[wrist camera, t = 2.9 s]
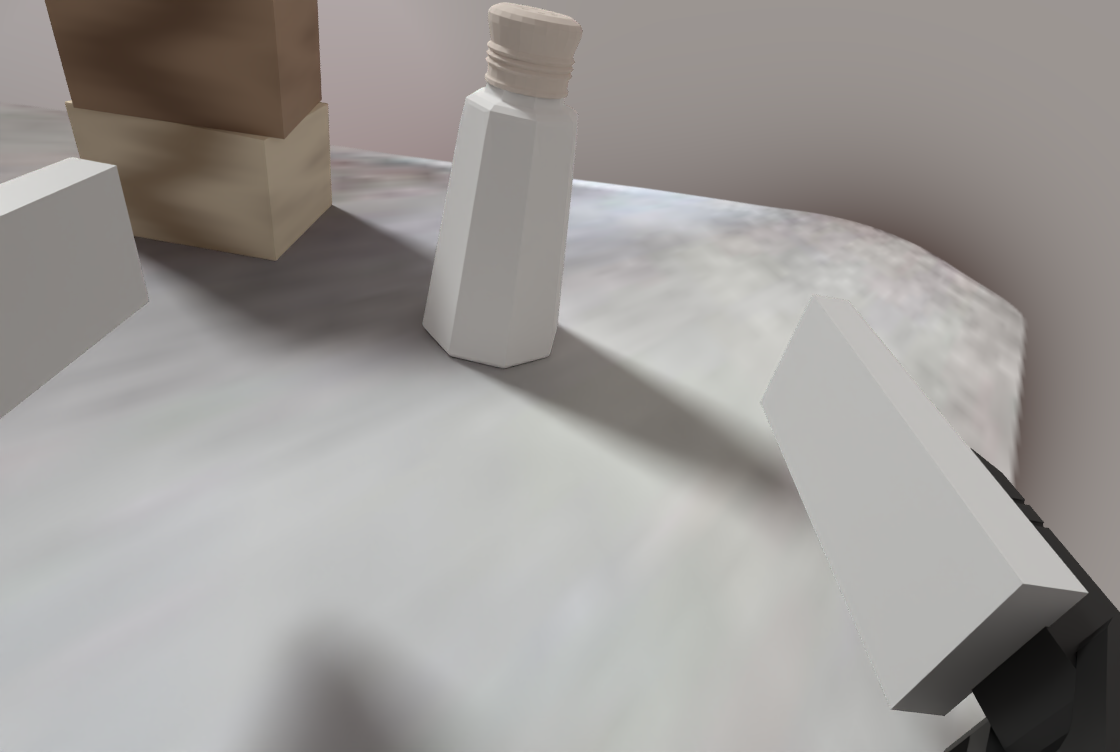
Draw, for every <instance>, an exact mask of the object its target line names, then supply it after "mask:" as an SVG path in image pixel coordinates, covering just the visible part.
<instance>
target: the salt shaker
mask: <svg viewBox="0 0 1120 752" xmlns="http://www.w3.org/2000/svg"><path fill="white" fill-rule="evenodd" d="M488 22H489V29H490V37H491V40H490V41H489V42H488V43H487V45H488V47H489V49H488V50H487V54H488V55H489V56H488V57H487V58H486V61H487V62H488V72H487V73H486V74H485V80H486V81H487V83H486V87H482V88H481V89H479V90H477V91H475V92H474V93H472V94H471V95H469V96H467V97H466V100H465V104H464V108H463V112H462V117H461V120H460V125H459V131H458V136H457V141H456V147H455V152H454V158H453V163H452V168H451V173H450V179H449V184H448V189H447V195H446V200H445V206H444V211H443V216H442V222H441V227H440V232H439V238H438V243H437V248H436V254H435V259H434V264H433V270H432V275H431V281H430V286H429V291H428V297H427V302H426V307H425V313H424V318H423V323H422V325H423V326H424V328H425V329H426V330H427V331H428V332H429V333H430V335H431V336H432V337H433V338H434V339H435V340H436V341H437V342H438V343H439V344H440V345H441V347H442V348H443V349H444V350H445V351H446V352H447V353H448V354H449V355H450V356H452V357H456V358H461V359H465V360H469V361H473V362H478V363H482V364H486V365H490V366H495V367H499V368H503V369H504V368H507V367H511V366H515V365H519V364H522V363H526V362H530V361H534V360H537V359H541V358H545V357H547V356H549V355H550V353H551V349H552V345H553V342H554V338H555V334H556V331H557V325H558V316H559V306H560V296H561V287H562V277H563V267H564V258H565V248H566V238H567V229H568V219H569V209H570V200H571V190H572V180H573V171H574V161H575V151H576V142H577V126H578V113H577V112H576V111H575V110H574V109H573V108H571V107H569V106H567V105H565V104H564V98H565V97H567V95H568V90H567V87H568V80H569V79H570V78H571V77H572V75H571V72H572V71H573V68H572V65H573V64H574V63H575V61H574V59H573V56H574V53H575V51H576V49H577V47H578V44H579V42H580V40H581V37H582V32H583V30H582V28H581V25H580V24H579V23H577V22H576V21H575V20H574V19H573V18H571V17H569V16H566V15H563V14H559V13H556V12H551V11H548V10H543V9H539V8H535V7H530V6H525V5H520V4H513V3H505V2H502V3H499V4H496V5H493V6H492V7H491V8H490V9H489V11H488Z"/></svg>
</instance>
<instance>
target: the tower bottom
mask: <svg viewBox="0 0 1120 752" xmlns="http://www.w3.org/2000/svg"><path fill="white" fill-rule="evenodd" d="M65 105H66V108H67V112H68V116H69V119H70V123H71V126H72V130H73V134H74V137H75V141H76V144H77V148H78V152H79V155H80V159H84V160H89V161H95V162H100V163H106V164H111V165H116V166H117V170H118V174H119V178H120V182H121V186H122V190H123V194H124V198H125V203H126V207H127V211H128V215H129V219H130V223H131V227H132V231H133V235H134V236H136V237H142V238H148V239H153V240H159V241H165V242H171V243H176V244H182V245H188V246H194V247H199V248H205V249H211V250H216V251H222V252H228V253H234V254H239V255H245V256H251V257H257V258H262V259H268V260H274V261H276V260H277V259H278V258H279V257H280V256H281V255H282V254H283V253H284V252H285V251H286V250H287V249H288V248H289V247H290V246H291V245H292V244H293V243H294V242H295V241H296V240H297V239H298V238H299V237H300V236H301V235H302V234H303V233H304V232H305V231H306V230H307V229H308V228H309V227H310V226H311V225H312V224H313V223H314V222H315V221H316V220H317V219H318V218H319V217H320V216H321V215H322V214H323V213H324V212H325V211H326V210H327V209H328V208H329V207H330V206H331V205H332V194H331V168H330V143H329V117H328V104H327V103H322V102H319V103H318V104H317V105H316V106H315V107H314V108H313V109H312V110H311V111H310V112H309V114H308V115H307V116H306V117H305V118H304V119H303V120H302V121H301V122H300V123H299V124H298V125H297V126H296V127H295V128H294V129H293V131H292V132H291V133H290V134H289V135H288V136H287V137H286V138H285V139H279V138H272V137H265V136H259V135H252V134H246V133H239V132H232V131H226V130H219V129H212V128H206V127H199V126H193V125H186V124H179V123H173V122H166V121H159V120H153V119H146V118H140V117H133V116H126V115H120V114H113V113H107V112H100V111H93V110H87V109H80V108H74V107H73V103H72V100H70V101H67V102H65Z"/></svg>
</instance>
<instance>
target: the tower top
mask: <svg viewBox="0 0 1120 752" xmlns="http://www.w3.org/2000/svg"><path fill="white" fill-rule="evenodd" d="M45 3H46V6H47V11H48V14H49V18H50V21H51V25H52V29H53V33H54V36H55V40H56V44H57V48H58V51H59V55H60V58H61V62H62V66H63V70H64V73H65V77H66V81H67V85H68V88H69V92H70V95H71V99H72V103H73V107H74V108H80V109H87V110H93V111H100V112H107V113H113V114H120V115H126V116H133V117H140V118H146V119H153V120H159V121H166V122H173V123H179V124H186V125H193V126H199V127H206V128H212V129H219V130H226V131H232V132H239V133H246V134H252V135H259V136H265V137H272V138H279V139H285V138H286V137H287V136H288V135H289V134H290V133H291V132H292V131H293V129H294V128H295V127H296V126H297V125H298V124H299V123H300V122H301V121H302V120H303V119H304V118H305V117H306V116H307V115H308V114H309V112H310V111H311V110H312V109H313V108H314V107H315V106H316V105H317V104H318V103H319V102H320V101H321V99H322V97H321V74H320V52H319V28H318V6H317V0H45Z"/></svg>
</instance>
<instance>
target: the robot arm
mask: <svg viewBox="0 0 1120 752" xmlns="http://www.w3.org/2000/svg"><path fill="white" fill-rule="evenodd" d="M148 302H149V297H148V293H147V288H146V284H145V280H144V276H143V272H142V268H141V264H140V260H139V256H138V252H137V248H136V243H135V239H134V235H133V231H132V227H131V223H130V219H129V215H128V211H127V207H126V203H125V198H124V194H123V190H122V186H121V182H120V178H119V174H118V170H117V166H116V165H111V164H106V163H100V162H95V161H89V160H84V159H79V158H73V157H70V158H67V159H65V160H62V161H59V162H57V163H54V164H51V165H49V166H46V167H44V168H41V169H38V170H36V171H33V172H30V173H28V174H25V175H23V176H20V177H17V178H15V179H12V180H9V181H7V182H4V183H1V184H0V419H1V418H2V417H3V416H5V415H6V414H7V413H8V412H10V411H11V410H12V409H13V408H15V407H16V406H17V405H18V404H20V403H21V402H22V401H24V400H25V399H26V398H27V397H29V396H30V395H31V394H32V393H34V392H35V391H36V390H37V389H39V388H40V387H41V386H43V385H44V384H45V383H46V382H48V381H49V380H50V379H51V378H53V377H54V376H55V375H57V374H58V373H59V372H60V371H62V370H63V369H64V368H65V367H67V366H68V365H69V364H70V363H72V362H73V361H74V360H76V359H77V358H78V357H79V356H81V355H82V354H83V353H84V352H86V351H87V350H88V349H89V348H91V347H92V346H93V345H95V344H96V343H97V342H98V341H100V340H101V339H102V338H103V337H105V336H106V335H107V334H108V333H110V332H111V331H112V330H114V329H115V328H116V327H117V326H119V325H120V324H121V323H122V322H124V321H125V320H126V319H127V318H129V317H130V316H131V315H133V314H134V313H135V312H136V311H138V310H139V309H140V308H141V307H143V306H144V305H145V304H147V303H148ZM760 403H761V405H762V408H763V410H764V413H765V415H766V417H767V420H768V422H769V424H770V427H771V429H772V431H773V434H774V436H775V438H776V441H777V443H778V445H779V448H780V450H781V452H782V455H783V457H784V460H785V462H786V464H787V467H788V469H789V471H790V474H791V476H792V478H793V481H794V483H795V485H796V488H797V490H798V492H799V495H800V497H801V499H802V502H803V504H804V507H805V509H806V511H807V514H808V516H809V518H810V521H811V523H812V525H813V528H814V530H815V532H816V535H817V537H818V539H819V542H820V544H821V547H822V549H823V551H824V554H825V556H826V558H827V561H828V563H829V565H830V568H831V570H832V572H833V575H834V577H835V579H836V582H837V584H838V586H839V589H840V591H841V594H842V596H843V598H844V601H845V603H846V605H847V608H848V610H849V612H850V615H851V617H852V619H853V622H854V624H855V626H856V629H857V631H858V633H859V636H860V638H861V641H862V643H863V645H864V648H865V650H866V652H867V655H868V657H869V659H870V662H871V664H872V666H873V669H874V671H875V673H876V676H877V678H878V681H879V683H880V685H881V688H882V690H883V692H884V695H885V697H886V699H887V702H888V704H889V706H890V709H892V710H900V711H908V712H917V713H925V714H934V715H942V716H945V715H946V714H947V713H948V712H950V711H951V710H952V709H953V708H954V707H955V706H957V705H958V704H959V703H960V702H961V701H962V700H964V699H965V698H966V697H967V696H968V695H969V694H971V693H972V692H973V694H974V695H975V697H976V699H977V701H978V703H979V705H980V706H981V708H982V710H983V712H984V714H985V716H986V718H985V719H983V720H982V721H981V722H979V723H978V724H977V725H976V726H974V727H973V728H972V729H971V730H969V731H968V732H967V733H966V734H964V735H963V736H962V737H961V738H959V739H958V740H957V741H955V742H954V743H953V744H952V745H950V746H949V747H948V748H947V749H945V750H944V752H1120V612H1119V611H1118V610H1117V608H1116V607H1115V606H1114V605H1113V604H1112V603H1111V602H1110V600H1109V599H1108V598H1107V597H1106V596H1105V594H1104V593H1103V592H1102V591H1101V589H1100V588H1099V587H1098V586H1097V585H1096V584H1095V582H1094V581H1093V580H1092V579H1091V578H1090V576H1089V575H1088V574H1087V573H1086V572H1085V571H1084V569H1083V568H1082V567H1081V566H1080V565H1079V563H1078V562H1077V561H1076V560H1075V559H1074V558H1073V556H1072V555H1071V554H1070V553H1069V552H1068V550H1067V549H1066V548H1065V547H1064V546H1063V544H1062V543H1061V542H1060V541H1059V540H1058V539H1057V537H1056V536H1055V535H1054V534H1053V533H1052V531H1051V530H1050V529H1049V528H1044V527H1043V523H1044V522H1043V521H1042V520H1041V519H1040V517H1039V516H1038V515H1037V514H1036V512H1035V511H1034V510H1033V509H1032V508H1031V506H1029V505H1025V504H1024V501H1025V499H1024V498H1023V497H1022V496H1021V495H1020V493H1019V492H1018V491H1017V490H1016V489H1015V488H1014V486H1013V485H1012V484H1011V483H1010V482H1009V480H1008V479H1007V478H1006V477H1005V476H1004V474H1003V473H1002V472H1000V471H999V470H998V469H997V468H995V467H994V466H993V465H992V464H990V463H989V462H988V461H986V460H985V459H984V458H983V457H981V456H980V455H979V454H978V453H976V452H975V451H974V450H973V449H971V448H969V446H968V445H967V444H966V443H965V442H964V440H963V439H962V438H961V437H960V435H959V434H958V433H957V432H956V431H955V429H954V428H953V427H952V426H951V424H950V423H949V422H948V421H947V420H946V418H945V417H944V416H943V415H942V413H941V412H940V411H939V410H938V409H937V407H936V406H935V405H934V404H933V402H932V401H931V400H930V399H929V398H928V396H927V395H926V394H925V393H924V392H923V390H922V389H921V388H920V387H919V385H918V384H917V383H916V382H915V381H914V379H913V378H912V377H911V376H910V374H909V373H908V372H907V371H906V370H905V368H904V367H903V366H902V365H901V363H900V362H899V361H898V360H897V359H896V357H895V356H894V355H893V354H892V352H891V351H890V350H889V349H888V348H887V346H886V345H885V344H884V343H883V342H882V340H881V339H880V338H879V337H878V335H877V334H876V333H875V332H874V331H873V329H872V328H871V327H870V326H869V324H868V323H867V322H866V321H865V320H864V318H863V317H862V316H861V315H860V313H859V312H858V311H857V310H856V309H855V307H854V306H853V305H852V304H851V302H850V301H848V300H843V299H838V298H832V297H827V296H821V295H816V294H812V296H811V298H810V300H809V302H808V305H807V307H806V309H805V311H804V313H803V315H802V317H801V319H800V321H799V323H798V325H797V327H796V329H795V331H794V333H793V335H792V337H791V340H790V342H789V344H788V346H787V348H786V350H785V352H784V354H783V356H782V358H781V360H780V362H779V364H778V366H777V368H776V370H775V373H774V375H773V377H772V379H771V381H770V383H769V385H768V387H767V389H766V391H765V393H764V395H763V397H762V399H761V401H760Z"/></svg>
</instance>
